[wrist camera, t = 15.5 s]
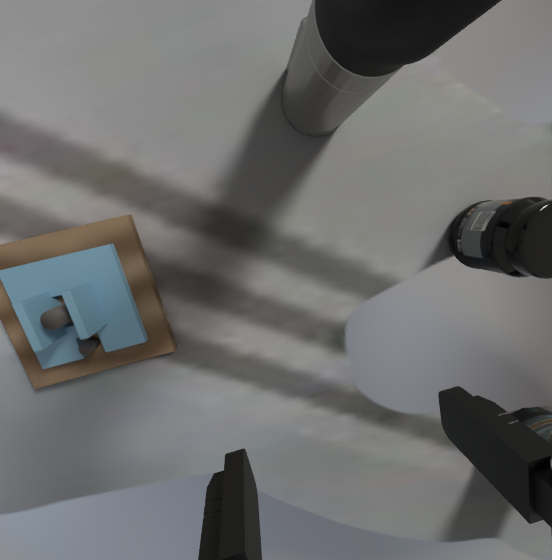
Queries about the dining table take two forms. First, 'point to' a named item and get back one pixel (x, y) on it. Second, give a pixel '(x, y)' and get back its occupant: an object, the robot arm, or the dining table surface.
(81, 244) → the post board
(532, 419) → the beer stein
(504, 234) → the supplement container
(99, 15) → the dining table surface
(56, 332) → the flange plate
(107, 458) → the dining table surface
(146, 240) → the dining table surface
